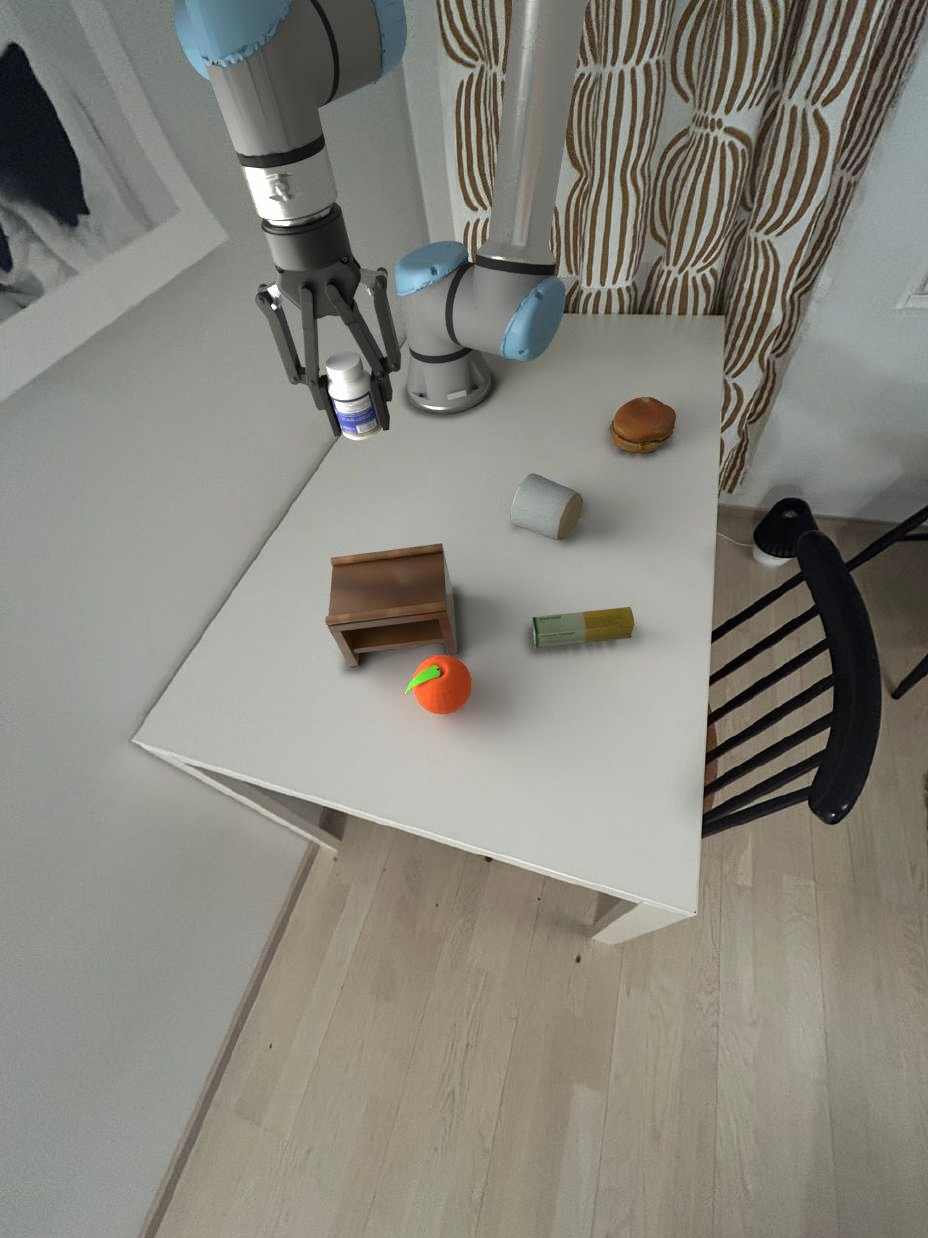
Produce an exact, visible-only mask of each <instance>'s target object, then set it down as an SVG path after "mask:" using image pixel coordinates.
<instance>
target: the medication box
mask: <svg viewBox="0 0 928 1238" xmlns="http://www.w3.org/2000/svg"><path fill="white" fill-rule="evenodd" d="M531 620H532V640H533V644H534V647H535V649H537V648H544V647H546V648H547V647H556V646H565V645H567V646H568V645H577V644H587V643H595V642H604V641H616V640H625V639H632V638H633V635H632V634H633V631H634V630H633V629H634V627H635V617H634V614H633V610H632V607H631V606H623V607H615V608H607V609H606V608H605V609H596V610H588V611H587V610H586V611H579V612H569V613H560V614H559V613H558V614H551V615H541V616H532V618H531Z"/></svg>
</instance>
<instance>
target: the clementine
mask: <svg viewBox="0 0 928 1238" xmlns="http://www.w3.org/2000/svg"><path fill="white" fill-rule="evenodd" d="M411 689H412V692H413V696H414V698H415V699H416V701H417V702H418V704H419V705H420V706H421V707H422V708H423V709H425V711H428V712H430V713H432V714H435V715H449V714H453V713H455V712H457V711H459V710H460V709H462V707H464V705H465V704H466V703H467V702H468V700H469V698H470V697H471V694H472V689H473V679H472V676H471V673H470V671H469V669H468V667H467V666H466V664H465V663H464V662H463V661H461V660H460V659H459V658H457V657H455V656H452V655H448V654H435V655H433V656H430V657H428V658H426V659H425V660H423V661H422V662H421V663H420V664H419V666H418V667H417V668H416V669H415V672H414V675H413V678H412V681H410V682H409V684H408V686H407V688H406V689H405V692H404V696H406V695H407V693H408V692H409V691H410V690H411Z"/></svg>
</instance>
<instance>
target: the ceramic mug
mask: <svg viewBox="0 0 928 1238" xmlns="http://www.w3.org/2000/svg"><path fill="white" fill-rule="evenodd" d="M515 491H516V492H515V494H514V496H513V500H512V503H511V508H510V521H511V523H512V524H513V525H515V526H516V527H520V528H523V529H525V530H528V531H530V532H534V533H536V534H538V535H541V536H544V537H545V538H549V539H551V540H556V541H565V540H566V539H568V538H569V537H570V536H571V535H572V533H573V532H574V530H575V528H576V527H577V525H578V523H579V520H580V517H581V515H582V512H583V507H584V499H583V496H582V494H581V493H579V492H578V491H576V490H575V489H573V488H571V487H568V486H566V485H564V484H561V483H558V482H557V481H553V480H551V479H549V478H546V477H545V476H542V475H540V474H537V473H529V474H528V475H527V476H525V478H523V480H522V481H521V483H520V484H519V486H518V487H517V489H516V490H515Z"/></svg>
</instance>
